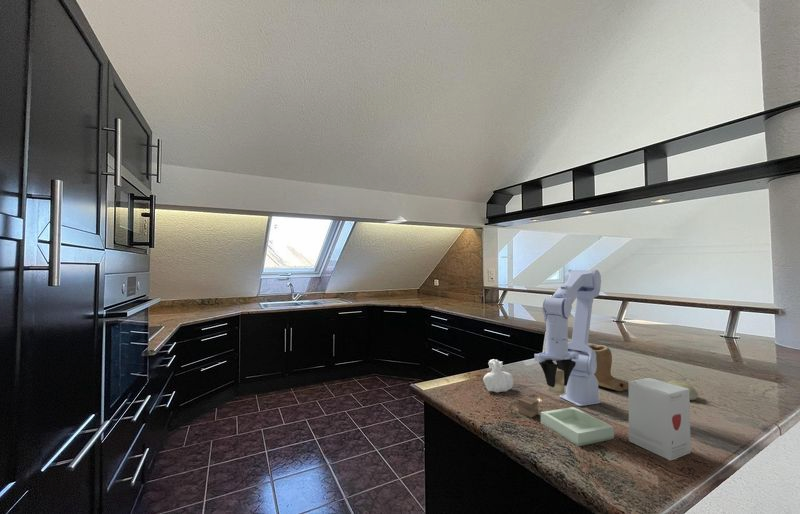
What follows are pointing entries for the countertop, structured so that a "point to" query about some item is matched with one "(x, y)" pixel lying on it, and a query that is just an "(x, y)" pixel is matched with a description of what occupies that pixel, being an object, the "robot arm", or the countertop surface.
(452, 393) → the countertop surface
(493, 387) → the bust
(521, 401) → the walnut cube
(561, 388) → the beech cylinder
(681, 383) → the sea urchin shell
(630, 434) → the supplement box
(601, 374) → the brown boot
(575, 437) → the tray
